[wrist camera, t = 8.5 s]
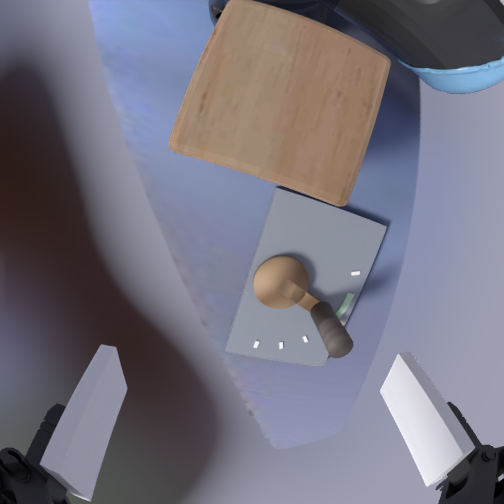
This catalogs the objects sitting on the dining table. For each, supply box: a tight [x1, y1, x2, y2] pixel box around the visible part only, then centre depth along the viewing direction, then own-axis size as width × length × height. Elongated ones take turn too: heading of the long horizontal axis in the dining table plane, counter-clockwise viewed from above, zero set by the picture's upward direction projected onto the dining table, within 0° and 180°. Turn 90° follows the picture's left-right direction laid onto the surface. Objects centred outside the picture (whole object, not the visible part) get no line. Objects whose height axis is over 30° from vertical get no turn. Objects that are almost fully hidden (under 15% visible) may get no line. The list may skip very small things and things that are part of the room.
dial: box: [253, 255, 353, 358], centre depth 32 cm, size 15×7×9 cm, turn 53°
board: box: [225, 187, 387, 367], centre depth 37 cm, size 24×16×2 cm, turn 163°
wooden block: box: [169, 0, 391, 207], centre depth 21 cm, size 10×10×20 cm
